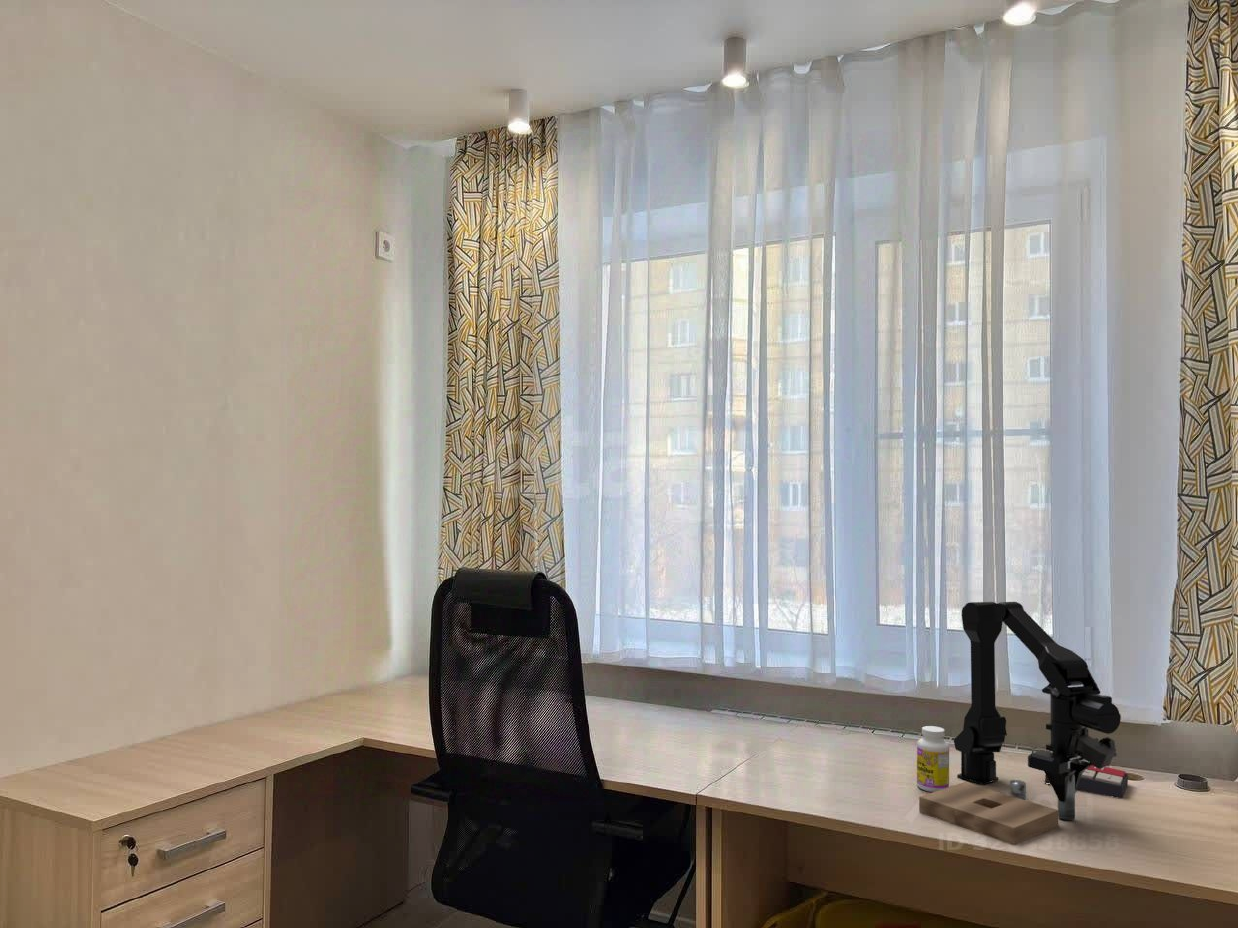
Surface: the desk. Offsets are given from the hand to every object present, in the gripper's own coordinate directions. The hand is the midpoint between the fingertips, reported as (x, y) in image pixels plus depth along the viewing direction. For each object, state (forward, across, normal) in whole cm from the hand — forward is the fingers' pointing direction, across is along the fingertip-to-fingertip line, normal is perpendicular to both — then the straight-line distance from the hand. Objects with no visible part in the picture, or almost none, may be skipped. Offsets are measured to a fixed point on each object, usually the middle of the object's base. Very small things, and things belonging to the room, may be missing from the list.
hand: (1066, 799), depth 176 cm
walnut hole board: (+4, -13, +9) cm, 16 cm away
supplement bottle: (+4, -6, +26) cm, 27 cm away
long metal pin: (+3, 0, 0) cm, 3 cm away
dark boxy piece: (+4, +25, +8) cm, 27 cm away
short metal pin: (+4, 0, +10) cm, 11 cm away
